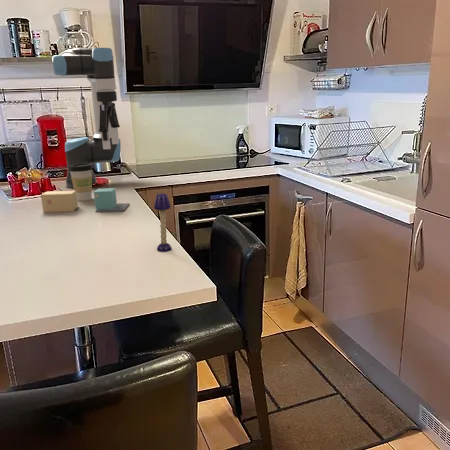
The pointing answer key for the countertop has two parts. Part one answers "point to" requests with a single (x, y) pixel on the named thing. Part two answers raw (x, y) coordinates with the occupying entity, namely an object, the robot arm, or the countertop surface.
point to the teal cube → (105, 198)
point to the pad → (118, 208)
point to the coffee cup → (82, 181)
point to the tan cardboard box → (59, 201)
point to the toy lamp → (162, 220)
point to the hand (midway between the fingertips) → (111, 146)
